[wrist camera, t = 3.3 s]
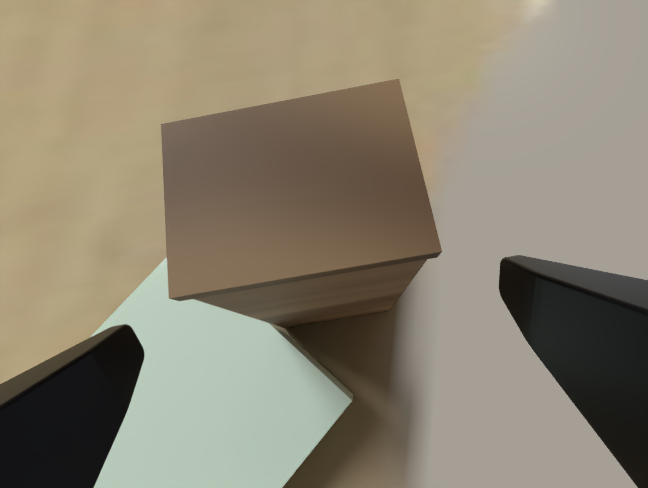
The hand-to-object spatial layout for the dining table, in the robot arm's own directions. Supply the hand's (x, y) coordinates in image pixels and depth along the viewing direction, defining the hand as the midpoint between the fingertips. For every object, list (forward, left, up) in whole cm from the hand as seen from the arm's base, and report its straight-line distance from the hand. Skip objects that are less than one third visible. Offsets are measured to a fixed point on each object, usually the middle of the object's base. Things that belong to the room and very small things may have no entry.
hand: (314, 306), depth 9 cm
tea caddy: (+2, -2, -11) cm, 11 cm away
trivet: (+3, +7, -11) cm, 13 cm away
